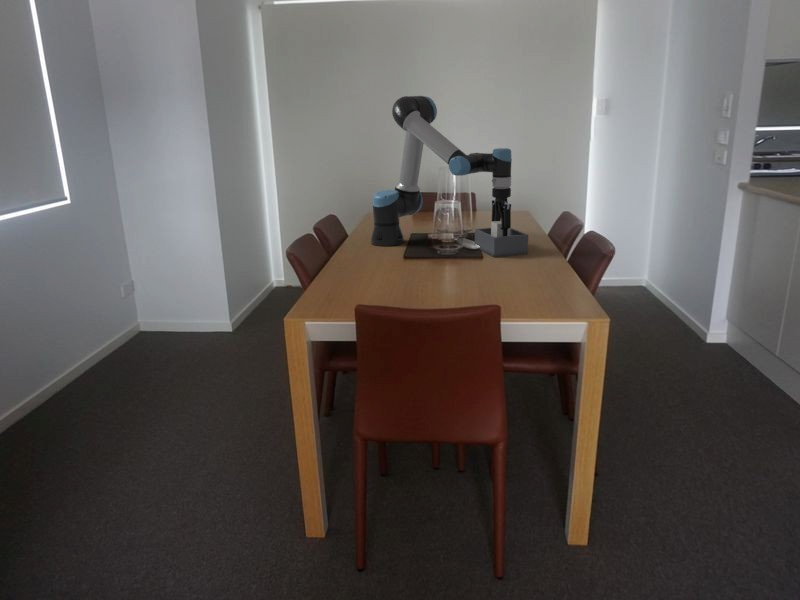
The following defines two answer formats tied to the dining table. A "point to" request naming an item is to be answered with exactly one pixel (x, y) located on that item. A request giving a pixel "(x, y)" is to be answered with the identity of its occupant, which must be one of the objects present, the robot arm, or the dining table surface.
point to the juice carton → (497, 229)
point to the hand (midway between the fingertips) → (500, 242)
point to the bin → (502, 243)
